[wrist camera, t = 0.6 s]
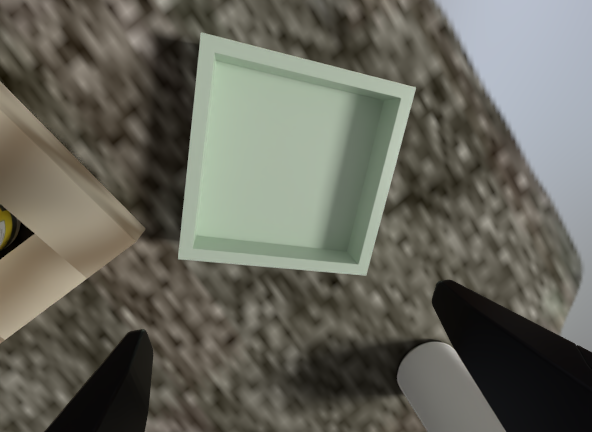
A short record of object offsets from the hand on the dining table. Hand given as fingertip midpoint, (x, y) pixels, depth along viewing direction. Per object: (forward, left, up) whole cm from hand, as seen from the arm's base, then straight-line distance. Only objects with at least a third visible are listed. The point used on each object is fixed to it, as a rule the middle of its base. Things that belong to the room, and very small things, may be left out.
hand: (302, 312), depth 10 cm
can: (-14, -19, -14) cm, 27 cm away
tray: (+3, -2, -14) cm, 14 cm away
